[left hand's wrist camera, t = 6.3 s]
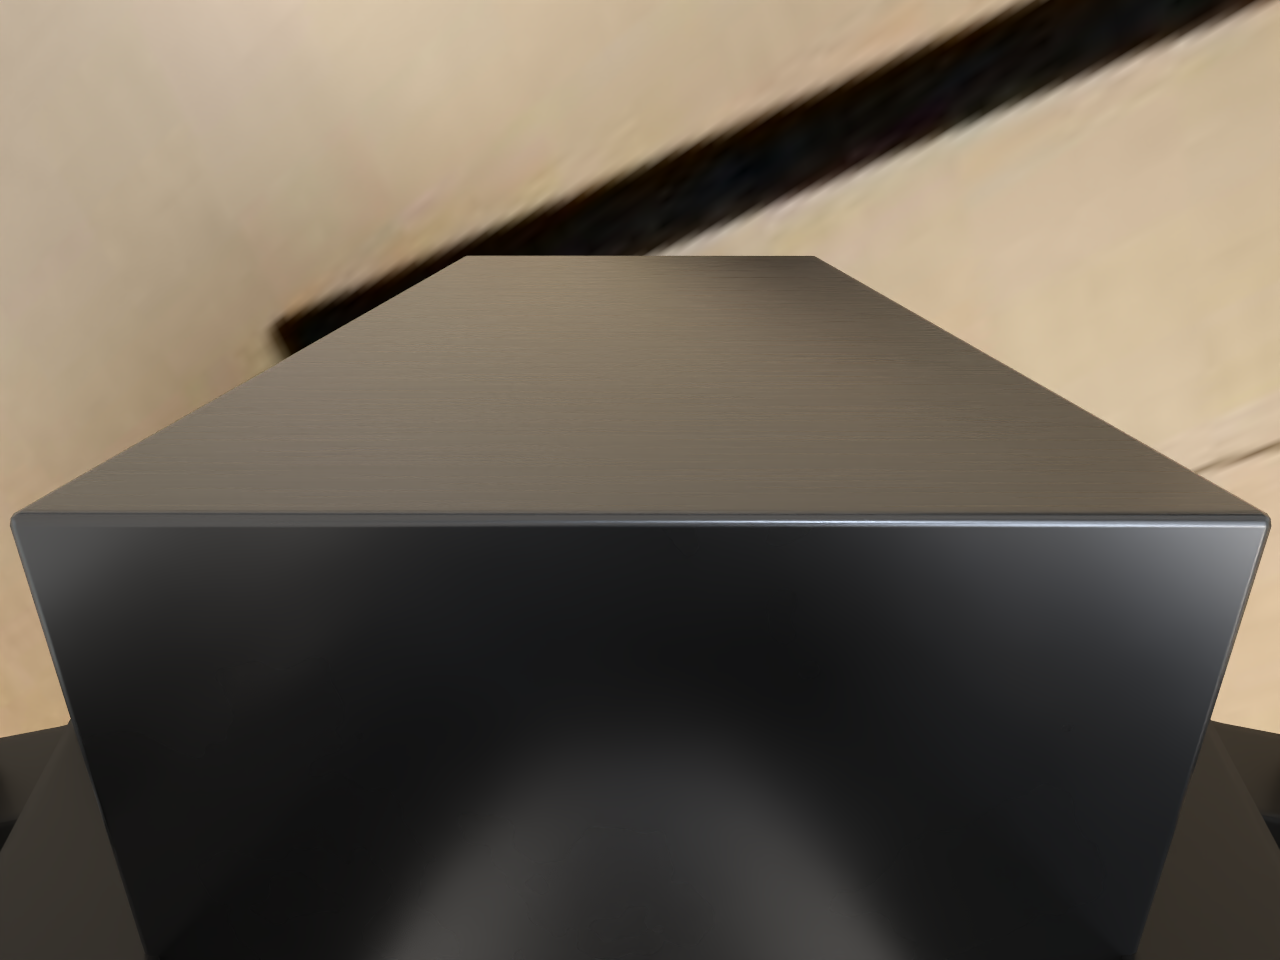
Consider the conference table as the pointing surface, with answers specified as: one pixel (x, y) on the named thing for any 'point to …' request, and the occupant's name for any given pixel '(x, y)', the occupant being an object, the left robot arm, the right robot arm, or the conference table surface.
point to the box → (640, 634)
